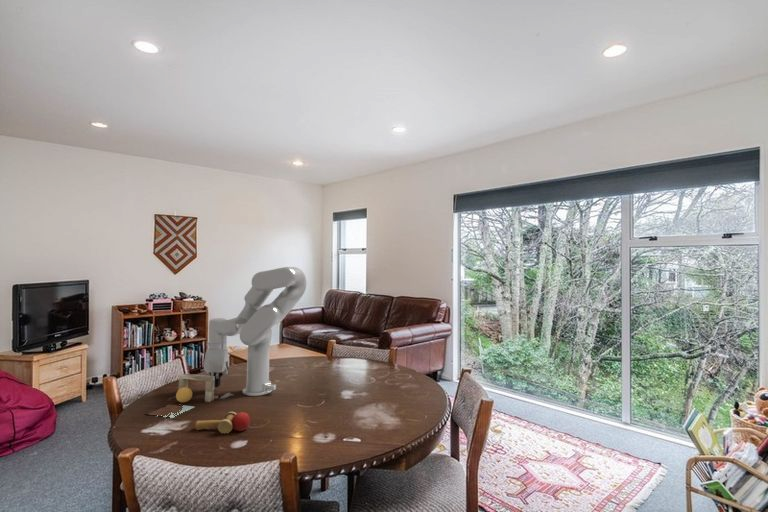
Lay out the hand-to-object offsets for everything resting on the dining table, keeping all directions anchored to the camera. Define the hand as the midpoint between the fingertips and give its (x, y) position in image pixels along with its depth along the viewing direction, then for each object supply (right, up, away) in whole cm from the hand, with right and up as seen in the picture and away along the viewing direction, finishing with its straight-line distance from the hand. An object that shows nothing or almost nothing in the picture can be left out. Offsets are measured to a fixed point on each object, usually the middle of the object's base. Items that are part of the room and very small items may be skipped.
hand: (216, 386), depth 177 cm
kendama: (+21, -1, -43) cm, 48 cm away
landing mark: (-6, -1, -26) cm, 27 cm away
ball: (-6, +2, -17) cm, 18 cm away
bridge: (-3, -1, -13) cm, 13 cm away
